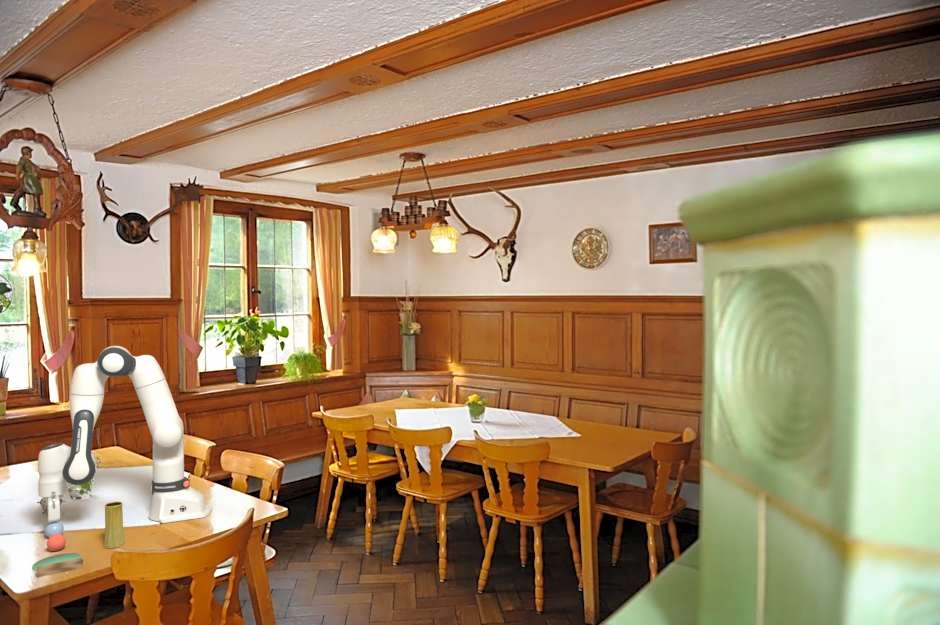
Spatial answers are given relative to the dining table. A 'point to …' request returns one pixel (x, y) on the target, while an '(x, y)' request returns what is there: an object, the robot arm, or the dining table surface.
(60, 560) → the green mark
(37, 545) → the dining table surface
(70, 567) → the walnut stop
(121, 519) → the vase
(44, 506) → the game die
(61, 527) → the blue ball
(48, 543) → the red ball
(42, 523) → the dining table surface
